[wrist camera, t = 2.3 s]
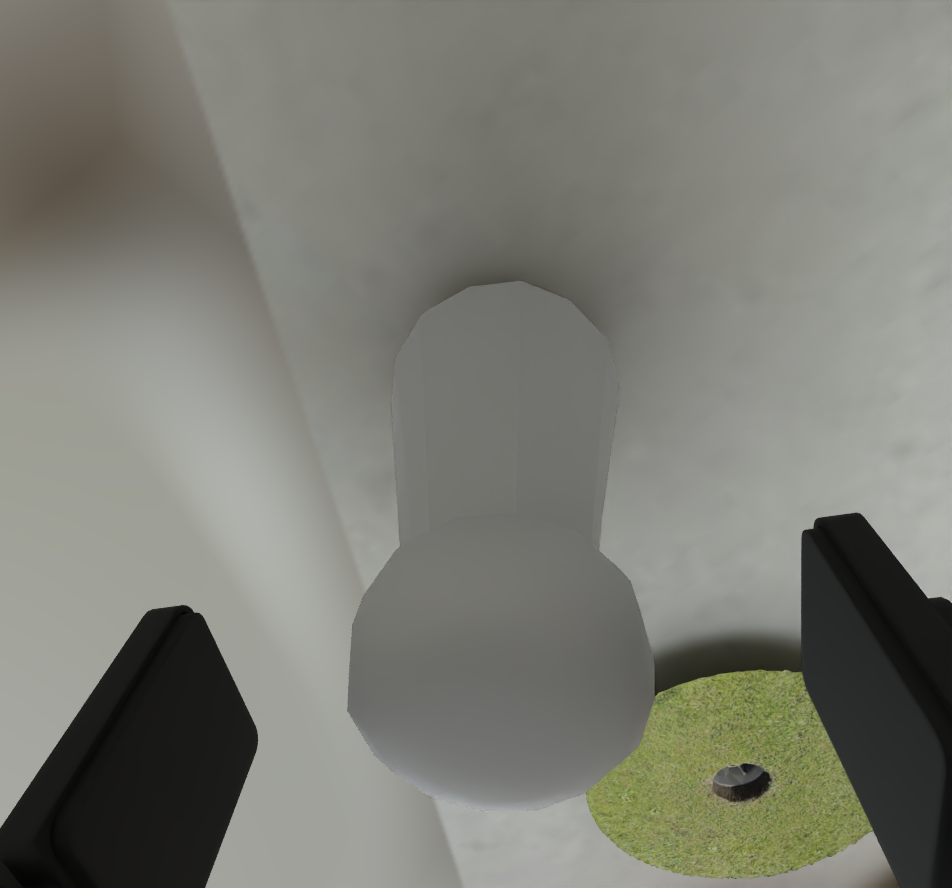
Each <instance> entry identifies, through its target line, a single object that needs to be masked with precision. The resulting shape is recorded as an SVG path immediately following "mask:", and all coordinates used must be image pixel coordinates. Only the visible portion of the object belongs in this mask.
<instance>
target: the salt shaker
mask: <svg viewBox="0 0 952 888" xmlns="http://www.w3.org/2000/svg"><path fill="white" fill-rule="evenodd" d="M619 390H620V386H619V382H618V378H617V374H616V370H615V366H614V362H613V358H612V354H611V350H610V346H609V342H608V339H607V338H606V337H605V336H604V335H603V334H602V333H601V332H600V331H599V330H598V329H597V328H596V327H595V326H594V325H593V324H592V323H591V322H590V321H589V320H588V319H587V318H586V317H585V316H584V315H583V313H582V312H581V311H580V310H579V309H578V308H577V307H576V306H575V305H574V304H573V303H572V302H571V301H570V300H569V299H566V298H563V297H561V296H558V295H556V294H553V293H551V292H548V291H546V290H543V289H541V288H538V287H536V286H533V285H531V284H528V283H526V282H523V281H513V282H504V283H496V284H487V285H478V286H469V287H468V288H466V289H464V290H462V291H461V292H459V293H457V294H455V295H453V296H452V297H450V298H448V299H446V300H445V301H443V302H441V303H439V304H438V305H436V306H434V307H432V308H430V309H429V310H427V311H425V312H424V313H423V314H422V315H421V316H420V318H419V319H418V321H417V323H416V324H415V326H414V328H413V329H412V331H411V333H410V334H409V336H408V338H407V339H406V341H405V343H404V344H403V346H402V348H401V349H400V351H399V353H398V354H397V356H396V358H395V368H394V378H393V389H392V400H391V410H392V426H393V443H394V459H395V475H396V491H397V507H398V523H399V540H400V547H399V548H398V549H397V550H396V551H395V552H394V554H393V555H392V556H391V558H390V559H389V561H388V562H387V563H386V565H385V566H384V568H383V569H382V570H381V572H380V573H379V575H378V576H377V577H376V579H375V580H374V582H373V583H372V584H371V586H370V587H369V589H368V590H367V591H366V593H365V594H364V596H363V598H362V601H361V604H360V606H359V609H358V611H357V614H356V617H355V619H354V622H353V625H352V637H351V653H350V666H349V667H350V668H349V686H348V710H347V711H348V713H349V714H350V716H351V718H352V719H353V721H354V723H355V724H356V726H357V727H358V729H359V731H360V733H361V734H362V736H363V737H364V739H365V741H366V742H367V744H368V746H369V747H370V749H371V751H372V752H373V754H374V755H375V756H376V757H377V758H378V759H379V760H380V761H381V762H382V763H383V764H384V765H386V766H387V767H388V768H389V769H390V770H391V771H393V772H394V773H395V774H397V775H398V776H400V777H401V778H403V779H404V780H406V781H407V782H408V783H410V784H411V785H413V786H414V787H415V788H417V789H418V790H420V791H421V792H423V793H424V794H425V795H427V796H428V797H430V798H433V799H437V800H440V801H444V802H448V803H452V804H456V805H459V806H463V807H467V808H471V809H474V810H478V811H535V810H539V809H542V808H545V807H548V806H550V805H553V804H556V803H559V802H562V801H564V800H567V799H570V798H573V797H576V796H579V795H581V794H584V793H586V792H587V791H588V790H589V789H591V788H592V787H593V786H594V785H595V784H596V783H598V782H599V781H600V780H601V779H602V778H603V777H605V776H606V775H607V774H608V773H609V772H610V771H612V770H613V769H614V768H615V767H616V766H617V765H619V764H620V763H621V762H622V761H623V760H624V759H625V758H627V757H628V756H629V755H630V754H631V753H632V752H633V751H635V750H636V749H637V748H638V747H639V746H640V743H641V740H642V737H643V734H644V730H645V727H646V724H647V721H648V718H649V715H650V712H651V709H652V705H653V702H654V699H655V662H654V658H653V655H652V651H651V648H650V644H649V641H648V637H647V633H646V630H645V626H644V623H643V619H642V616H641V612H640V609H639V606H638V603H637V600H636V596H635V593H634V590H633V587H632V584H631V581H630V580H629V579H628V578H627V577H626V575H625V574H624V573H623V572H622V571H621V570H620V569H619V568H618V567H617V566H616V565H614V564H613V563H612V562H611V561H610V560H609V559H608V558H607V557H606V556H604V555H603V554H602V553H601V552H600V551H599V545H600V534H601V523H602V514H603V507H604V500H605V492H606V485H607V478H608V470H609V463H610V456H611V448H612V441H613V434H614V426H615V419H616V412H617V405H618V397H619Z"/></svg>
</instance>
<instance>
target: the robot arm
mask: <svg viewBox="0 0 952 888" xmlns="http://www.w3.org/2000/svg"><path fill="white" fill-rule="evenodd" d="M801 668H802V675H803V680H804V683H805V687H806V689H807V692H808V694H809V696H810V698H811V700H812V703H813V705H814V707H815V709H816V711H817V713H818V715H819V717H820V719H821V722H822V724H823V726H824V728H825V730H826V732H827V734H828V736H829V738H830V741H831V743H832V745H833V747H834V749H835V751H836V753H837V755H838V757H839V759H840V762H841V764H842V766H843V768H844V770H845V772H846V774H847V776H848V778H849V781H850V783H851V785H852V787H853V789H854V791H855V793H856V795H857V797H858V800H859V802H860V804H861V806H862V808H863V810H864V812H865V814H866V816H867V818H868V821H869V823H870V825H871V827H872V829H873V831H874V833H875V835H876V837H877V840H878V842H879V844H880V846H881V848H882V850H883V852H884V854H885V856H886V858H887V861H888V863H889V865H890V867H891V869H892V871H893V873H894V875H895V877H896V880H897V882H898V884H899V886H900V888H952V603H951V602H950V601H949V600H947V599H944V598H942V597H937V598H929V599H928V598H927V596H926V595H925V594H924V593H923V591H922V590H921V589H920V588H919V586H918V585H917V584H916V583H915V581H914V580H913V579H912V577H911V576H910V575H909V574H908V572H907V571H906V570H905V569H904V567H903V566H902V565H901V563H900V562H899V561H898V560H897V558H896V557H895V556H894V555H893V553H892V552H891V551H890V549H889V548H888V547H887V546H886V544H885V543H884V542H883V541H882V539H881V538H880V537H879V535H878V534H877V533H876V532H875V530H874V529H873V528H872V527H871V525H870V524H869V523H868V522H867V520H866V519H865V518H864V517H863V516H862V515H861V514H860V513H851V514H843V515H836V516H829V517H821V518H817V519H816V520H815V522H814V528H813V529H808V530H804V531H803V533H802V551H801ZM257 745H258V734H257V729H256V726H255V724H254V722H253V720H252V718H251V716H250V714H249V711H248V709H247V707H246V705H245V703H244V701H243V699H242V697H241V695H240V693H239V690H238V688H237V686H236V684H235V682H234V680H233V678H232V676H231V674H230V672H229V670H228V668H227V665H226V663H225V661H224V659H223V657H222V655H221V653H220V651H219V649H218V647H217V644H216V642H215V640H214V638H213V636H212V634H211V632H210V630H209V628H208V626H207V624H206V621H205V619H204V618H203V616H202V615H201V614H200V613H194V612H193V610H192V609H191V608H190V607H188V606H185V605H181V606H174V607H167V608H159V609H152V610H150V611H148V612H147V613H146V614H145V615H144V616H143V618H142V619H141V621H140V622H139V624H138V625H137V627H136V628H135V630H134V631H133V633H132V634H131V635H130V637H129V639H128V640H127V641H126V643H125V644H124V646H123V647H122V649H121V650H120V652H119V653H118V655H117V656H116V658H115V659H114V661H113V662H112V664H111V665H110V667H109V668H108V670H107V671H106V673H105V674H104V675H103V677H102V679H101V680H100V681H99V683H98V684H97V686H96V687H95V689H94V690H93V692H92V693H91V695H90V696H89V698H88V699H87V701H86V702H85V704H84V705H83V707H82V708H81V710H80V711H79V713H78V714H77V716H76V717H75V718H74V720H73V721H72V723H71V724H70V726H69V727H68V729H67V730H66V732H65V733H64V735H63V736H62V738H61V739H60V741H59V742H58V744H57V745H56V747H55V748H54V750H53V751H52V753H51V754H50V755H49V757H48V759H47V760H46V761H45V763H44V764H43V766H42V767H41V769H40V770H39V772H38V773H37V775H36V776H35V778H34V779H33V781H32V782H31V784H30V785H29V787H28V788H27V789H26V791H25V792H24V794H23V795H22V797H21V799H20V800H19V801H18V803H17V804H16V806H15V807H14V809H13V810H12V812H11V813H10V815H9V816H8V818H7V819H6V821H5V822H4V824H3V825H2V827H1V828H0V888H205V886H206V884H207V881H208V878H209V876H210V873H211V870H212V868H213V865H214V862H215V860H216V857H217V854H218V852H219V849H220V847H221V844H222V841H223V838H224V836H225V833H226V831H227V828H228V825H229V823H230V820H231V817H232V814H233V812H234V809H235V806H236V804H237V801H238V798H239V796H240V793H241V790H242V788H243V785H244V783H245V780H246V777H247V774H248V772H249V769H250V767H251V764H252V761H253V759H254V756H255V753H256V750H257Z"/></svg>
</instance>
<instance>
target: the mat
mask: <svg viewBox="0 0 952 888" xmlns="http://www.w3.org/2000/svg"><path fill="white" fill-rule="evenodd" d="M586 795H587V803H588V806H589V808H590V812H591V813H592V816H593V817H594V819H595V822H596V823H597V825H598V826H599V828H600V830H601V831H603V833H604V834H606V836H607V837H609V838H610V840H611V841H612V842H613V843H615V844H616V846H617V847H619V848H620V849H622V850H623V851H625V852H626V853H627V854H629V855H630V856H634V857H635V858H636V859H638V860H641V861H643V862H644V863H646V864H650V865H651V866H654V865H655V866H656V867H657V868H660V869H663V870H667V871H671V872H674V873H682V874H683V875H689V876H699V877H711V878H723V877H726V878H729V877H730V876H731V878H735V879H736V878H755V877H759V876H768V877H769V876H774V875H777V874H781V873H787V872H788V871H789V870H792V871H794V870H797V869H799V868H800V867H803V866H806V865H807V864H808V863H809V864H811V865H812V864H814V862H816V861H819V860H821V859H823V858H825V857H831V856H833V855H835V854H836V853H837V852H839V851H843V850H844V849H845V848H846V847H847V846H849V845H850V844H855V843H856V842H857V840H859V839H860V838H862V837H863V836H864V835H866V834H868V833H869V832H872V831H873V829H872V827H871V825H870V823H869V821H868V818H867V816H866V814H865V812H864V810H863V808H862V806H861V804H860V802H859V800H858V797H857V795H856V793H855V791H854V789H853V787H852V785H851V783H850V781H849V778H848V776H847V774H846V772H845V770H844V768H843V766H842V764H841V762H840V759H839V757H838V755H837V753H836V751H835V749H834V747H833V745H832V743H831V741H830V738H829V736H828V734H827V732H826V730H825V728H824V726H823V724H822V722H821V719H820V717H819V715H818V713H817V711H816V709H815V707H814V705H813V703H812V700H811V698H810V696H809V694H808V692H807V689H806V687H805V683H804V680H803V675H802V672H793V673H792V672H791V671H789V670H784V671H782V672H781V671H765V670H762V669H759V670H756V671H744V672H740V671H738V672H732V673H724V674H717V675H714V676H710V677H702V678H698V679H696V680H693V681H690V682H687V683H683V684H680V685H677V686H675V687H672V688H670V689H668V690H665V691H662V692H659V693H658V694H657V696H655V699H654V702H653V705H652V709H651V712H650V715H649V718H648V721H647V724H646V727H645V730H644V734H643V737H642V740H641V743H640V746H639V747H638V748H637V749H636V750H635V751H633V752H632V753H631V754H630V755H629V756H628V757H627V758H625V759H624V760H623V761H622V762H621V763H620V764H619V765H617V766H616V767H615V768H614V769H613V770H612V771H610V772H609V773H608V774H607V775H606V776H605V777H603V778H602V779H601V780H600V781H599V782H598V783H596V784H595V785H594V786H593V787H592V788H591V789H589V790H588V791H587V792H586Z"/></svg>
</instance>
